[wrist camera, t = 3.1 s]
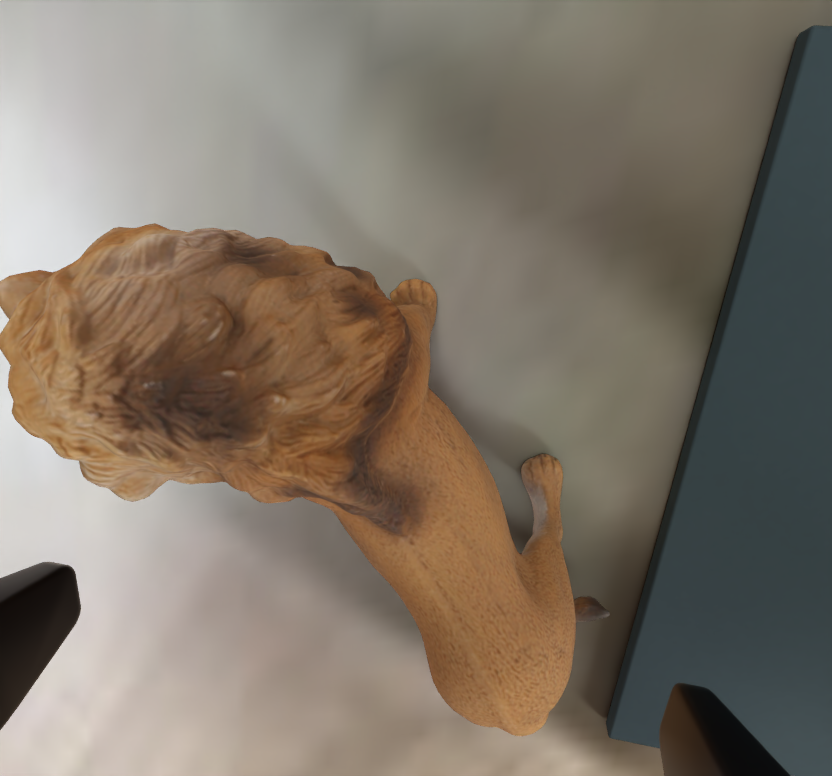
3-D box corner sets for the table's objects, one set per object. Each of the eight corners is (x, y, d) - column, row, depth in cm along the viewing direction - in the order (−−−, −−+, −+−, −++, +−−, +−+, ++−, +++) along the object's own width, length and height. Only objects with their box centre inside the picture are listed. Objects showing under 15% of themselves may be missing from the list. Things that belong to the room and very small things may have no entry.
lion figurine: (209, 299, 15) (-158, 415, 7) (331, 160, 13) (41, 87, 5) (537, 637, 17) (566, 1049, 9) (682, 555, 15) (893, 973, 7)
